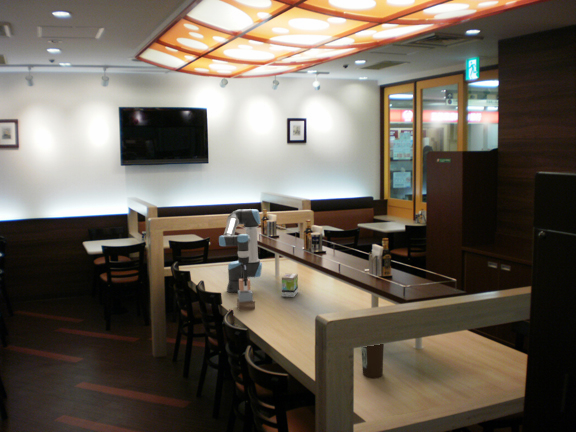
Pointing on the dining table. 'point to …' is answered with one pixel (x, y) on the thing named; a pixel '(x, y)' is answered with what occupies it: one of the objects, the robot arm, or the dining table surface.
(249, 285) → the terracotta cube
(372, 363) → the brown coffee cup
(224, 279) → the dining table surface
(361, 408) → the dining table surface
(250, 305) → the walnut block
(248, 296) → the slate block
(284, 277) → the tea box
